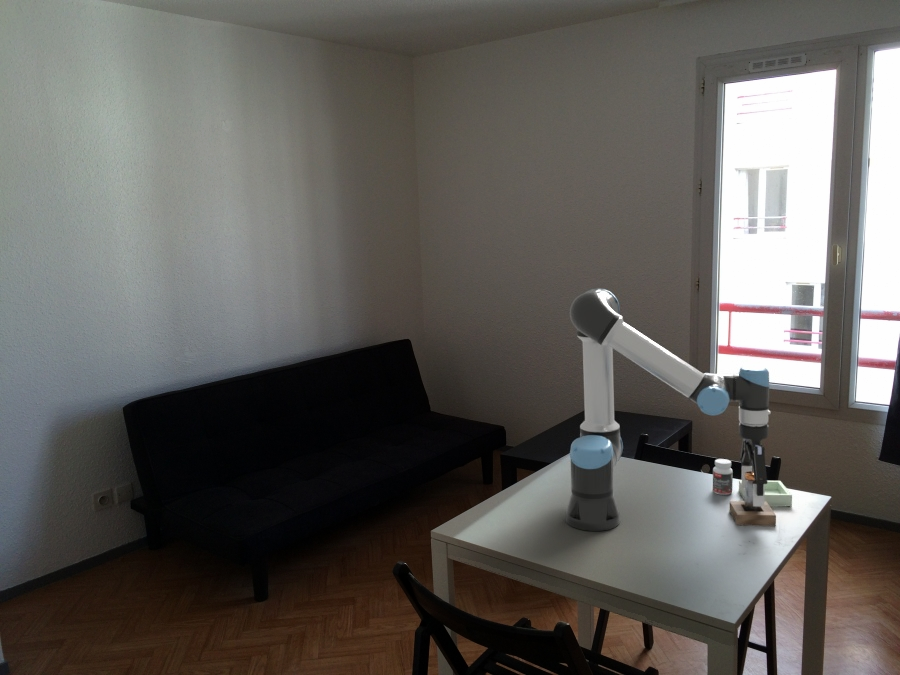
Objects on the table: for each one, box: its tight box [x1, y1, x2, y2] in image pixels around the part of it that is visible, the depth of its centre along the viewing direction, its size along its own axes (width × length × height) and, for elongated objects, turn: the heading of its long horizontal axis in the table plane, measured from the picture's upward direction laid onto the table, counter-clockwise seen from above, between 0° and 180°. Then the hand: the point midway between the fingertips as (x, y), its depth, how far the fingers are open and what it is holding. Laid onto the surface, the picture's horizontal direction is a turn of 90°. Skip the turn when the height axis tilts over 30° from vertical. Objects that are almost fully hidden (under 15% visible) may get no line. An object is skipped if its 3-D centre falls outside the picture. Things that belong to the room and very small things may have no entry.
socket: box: [728, 500, 777, 527], centre depth 204 cm, size 10×10×3 cm
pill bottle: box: [712, 458, 734, 496], centre depth 224 cm, size 6×6×10 cm
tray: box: [738, 479, 793, 508], centre depth 217 cm, size 12×12×4 cm
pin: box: [744, 470, 760, 512], centre depth 203 cm, size 4×4×13 cm
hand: (752, 496), depth 203 cm, fingers open, 13 cm apart
